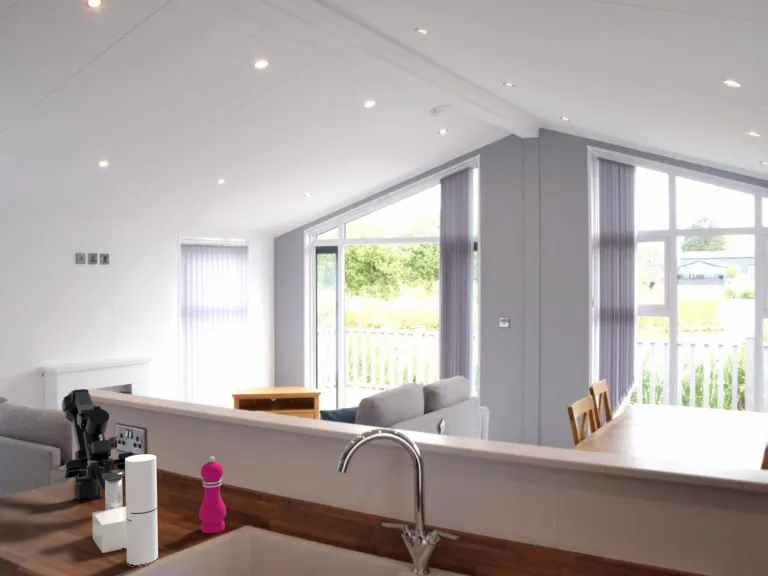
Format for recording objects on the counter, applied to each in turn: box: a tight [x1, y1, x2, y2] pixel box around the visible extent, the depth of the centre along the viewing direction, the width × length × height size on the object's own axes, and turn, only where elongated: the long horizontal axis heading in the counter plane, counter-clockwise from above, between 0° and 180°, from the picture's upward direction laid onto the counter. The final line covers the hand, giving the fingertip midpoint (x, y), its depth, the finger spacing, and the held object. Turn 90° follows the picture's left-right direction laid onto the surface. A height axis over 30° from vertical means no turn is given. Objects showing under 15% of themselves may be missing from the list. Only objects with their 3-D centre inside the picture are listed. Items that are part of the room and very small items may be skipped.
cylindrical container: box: [124, 453, 159, 565], centre depth 170 cm, size 7×7×25 cm
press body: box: [91, 505, 127, 554], centre depth 184 cm, size 12×12×7 cm
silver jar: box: [102, 469, 125, 510], centre depth 187 cm, size 15×6×16 cm, turn 33°
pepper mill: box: [198, 455, 227, 534], centre depth 191 cm, size 7×7×20 cm
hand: (104, 490), depth 201 cm, fingers closed
